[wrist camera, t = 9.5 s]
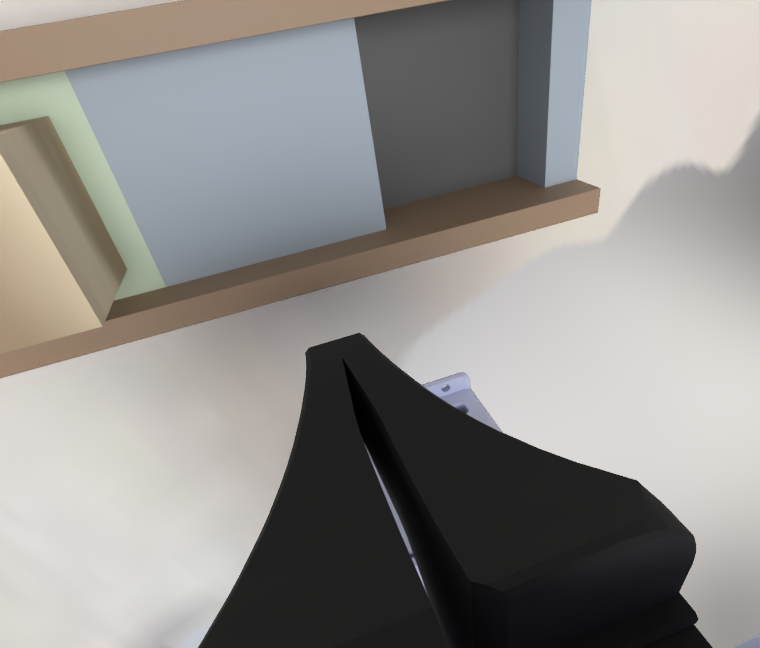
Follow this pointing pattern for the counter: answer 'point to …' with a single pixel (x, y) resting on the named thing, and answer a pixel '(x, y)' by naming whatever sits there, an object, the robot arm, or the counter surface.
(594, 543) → the robot arm
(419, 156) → the trap track
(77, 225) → the maple block
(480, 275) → the counter surface
